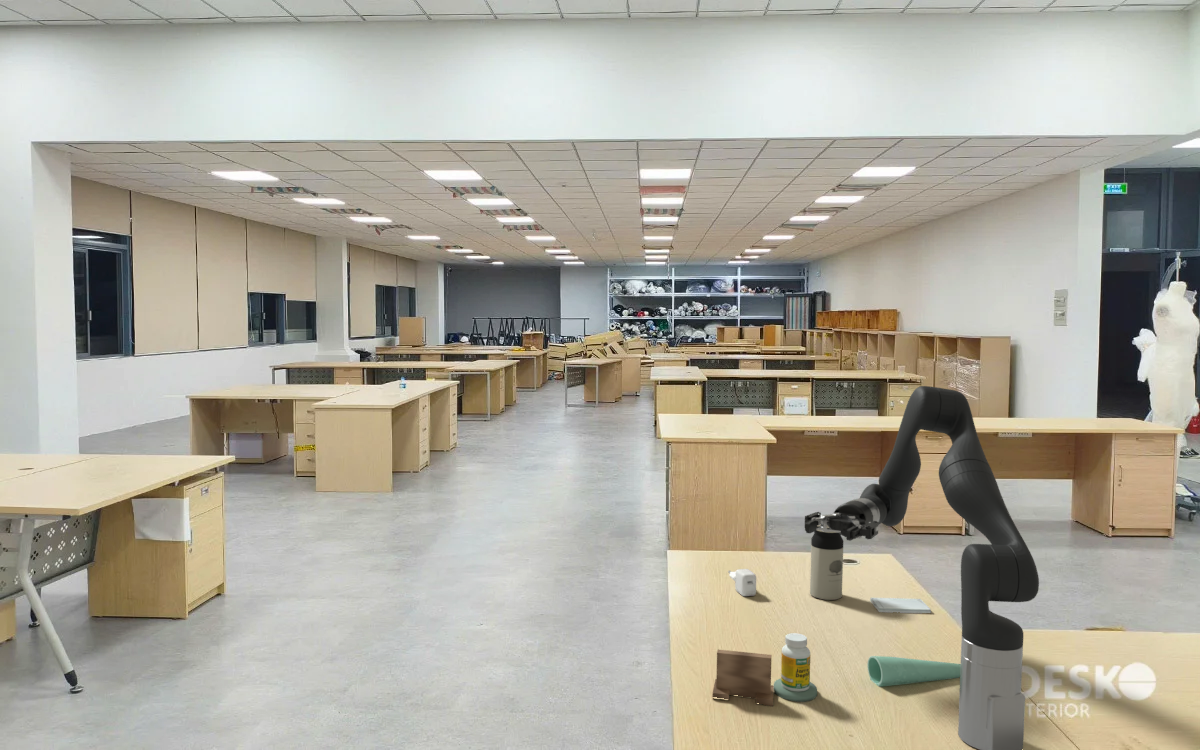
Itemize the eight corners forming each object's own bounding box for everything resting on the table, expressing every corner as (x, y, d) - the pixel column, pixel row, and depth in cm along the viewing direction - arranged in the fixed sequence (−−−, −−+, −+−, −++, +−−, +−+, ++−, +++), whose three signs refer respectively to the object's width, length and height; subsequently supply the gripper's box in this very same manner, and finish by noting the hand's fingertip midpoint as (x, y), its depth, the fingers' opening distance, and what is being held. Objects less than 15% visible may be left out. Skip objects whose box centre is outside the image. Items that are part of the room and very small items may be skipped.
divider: (773, 691, 151) (774, 650, 150) (772, 706, 145) (773, 663, 145) (715, 685, 153) (716, 644, 153) (712, 699, 148) (713, 657, 147)
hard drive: (920, 598, 202) (870, 596, 202) (931, 609, 193) (879, 607, 194) (919, 604, 202) (869, 602, 203) (931, 616, 193) (878, 614, 194)
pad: (824, 699, 148) (824, 694, 148) (784, 703, 146) (784, 698, 146) (805, 680, 156) (805, 675, 156) (766, 684, 154) (766, 679, 154)
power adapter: (724, 584, 214) (725, 562, 214) (741, 582, 216) (742, 561, 215) (741, 597, 204) (741, 575, 203) (758, 596, 205) (759, 574, 204)
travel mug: (804, 591, 209) (806, 523, 208) (833, 589, 210) (835, 522, 209) (818, 601, 201) (819, 531, 200) (847, 600, 203) (849, 530, 201)
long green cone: (1005, 653, 158) (882, 662, 152) (1003, 679, 158) (881, 690, 152) (986, 642, 163) (867, 651, 157) (985, 668, 163) (866, 678, 158)
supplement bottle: (794, 677, 155) (795, 629, 154) (815, 688, 150) (817, 638, 150) (774, 684, 152) (775, 635, 151) (795, 695, 147) (797, 644, 147)
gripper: (826, 495, 177) (795, 508, 165) (890, 505, 169) (863, 519, 156) (825, 529, 178) (794, 544, 165) (889, 539, 169) (861, 556, 156)
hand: (827, 531), depth 160 cm, fingers open, 8 cm apart
